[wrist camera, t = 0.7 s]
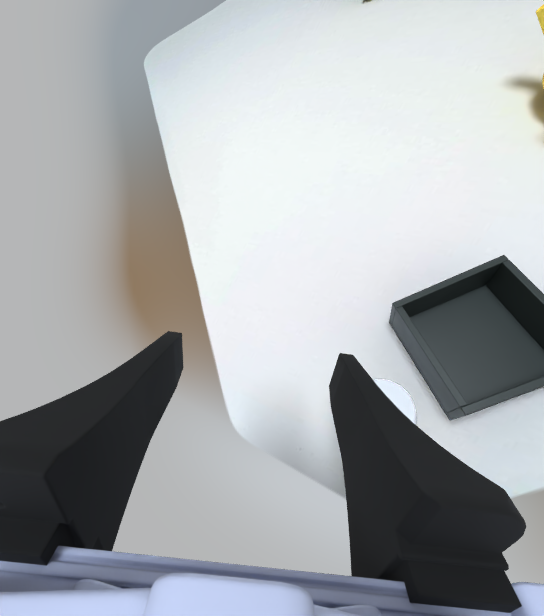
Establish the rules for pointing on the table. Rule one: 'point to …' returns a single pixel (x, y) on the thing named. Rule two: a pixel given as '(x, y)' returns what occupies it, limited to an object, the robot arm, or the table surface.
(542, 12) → the teapot
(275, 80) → the table surface
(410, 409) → the supplement bottle
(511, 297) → the storage tray
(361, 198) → the table surface
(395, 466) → the robot arm
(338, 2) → the table surface
